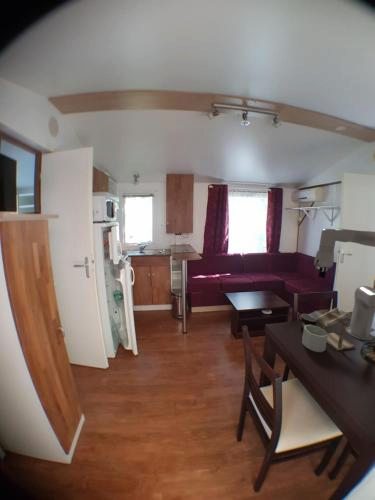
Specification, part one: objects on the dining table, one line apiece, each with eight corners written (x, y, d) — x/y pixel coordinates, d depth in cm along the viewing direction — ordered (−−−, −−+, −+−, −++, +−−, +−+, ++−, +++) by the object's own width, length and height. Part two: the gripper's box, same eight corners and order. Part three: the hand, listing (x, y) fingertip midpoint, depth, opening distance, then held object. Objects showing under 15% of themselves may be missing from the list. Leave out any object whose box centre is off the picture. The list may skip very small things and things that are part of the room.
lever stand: (332, 333, 118) (337, 309, 115) (355, 348, 105) (361, 321, 102) (317, 336, 115) (321, 311, 112) (338, 351, 102) (343, 323, 99)
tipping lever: (331, 309, 117) (329, 301, 116) (354, 322, 104) (353, 312, 102) (308, 321, 115) (307, 312, 113) (330, 335, 102) (328, 325, 100)
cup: (312, 338, 113) (315, 323, 111) (329, 350, 103) (332, 335, 101) (297, 340, 111) (299, 325, 109) (313, 353, 100) (316, 337, 98)
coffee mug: (317, 336, 114) (320, 322, 112) (302, 334, 116) (304, 320, 114) (309, 326, 126) (311, 312, 124) (295, 324, 127) (297, 310, 125)
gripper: (330, 247, 120) (325, 274, 123) (311, 248, 116) (306, 276, 120) (342, 249, 112) (336, 278, 116) (322, 250, 109) (317, 279, 113)
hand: (321, 277), depth 118 cm, fingers closed
